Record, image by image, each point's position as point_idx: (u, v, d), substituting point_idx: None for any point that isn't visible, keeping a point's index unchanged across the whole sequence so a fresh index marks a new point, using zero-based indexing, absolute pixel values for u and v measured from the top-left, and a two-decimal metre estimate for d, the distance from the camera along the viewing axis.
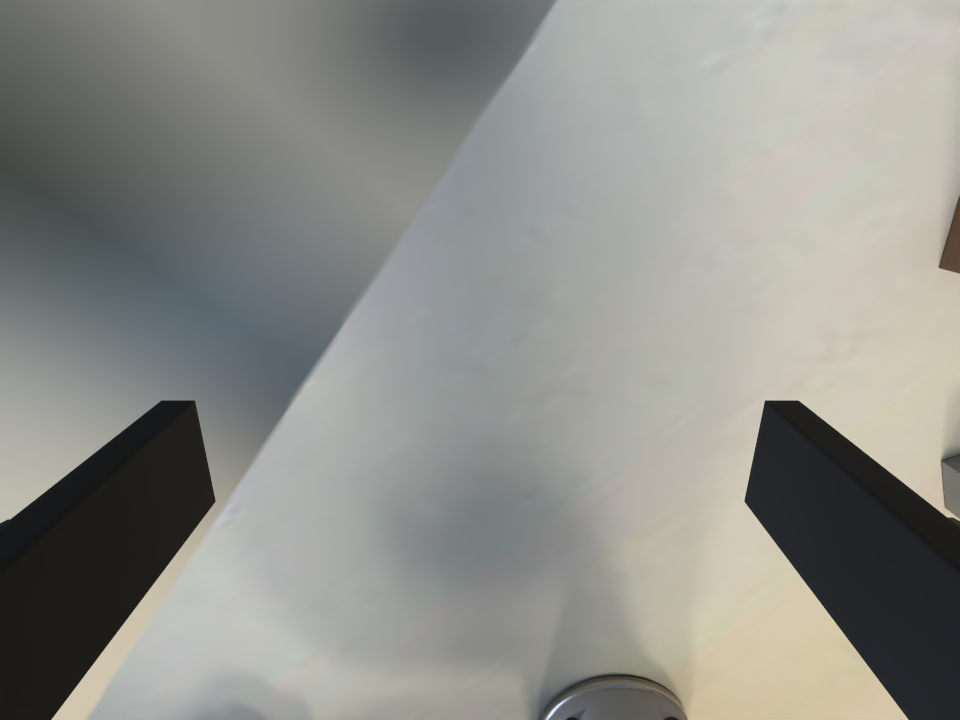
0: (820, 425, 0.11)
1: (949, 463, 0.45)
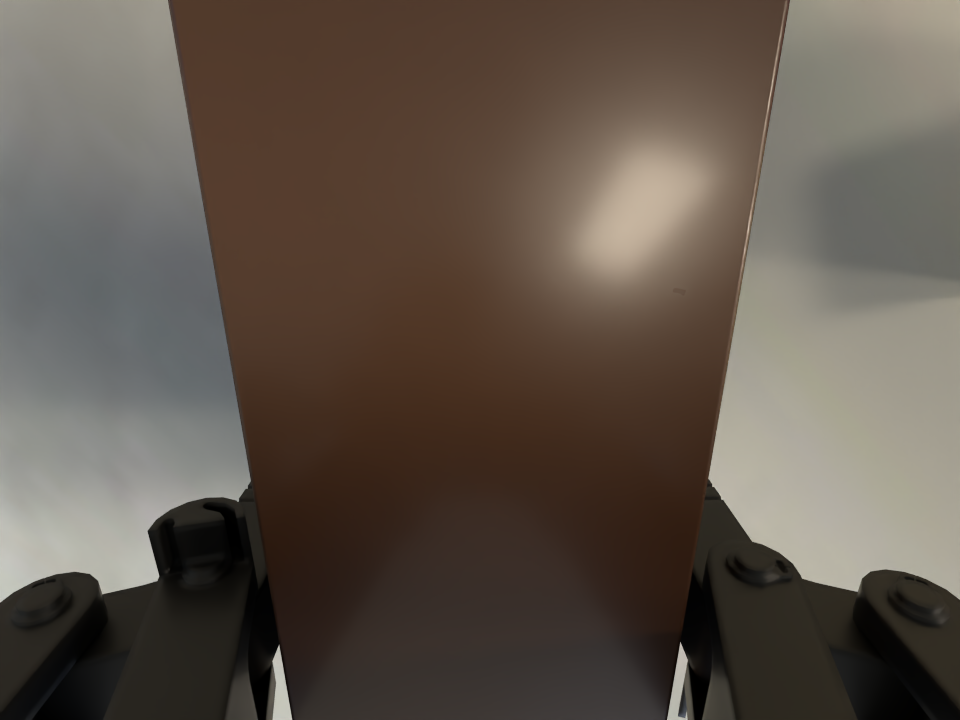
0: None
1: None
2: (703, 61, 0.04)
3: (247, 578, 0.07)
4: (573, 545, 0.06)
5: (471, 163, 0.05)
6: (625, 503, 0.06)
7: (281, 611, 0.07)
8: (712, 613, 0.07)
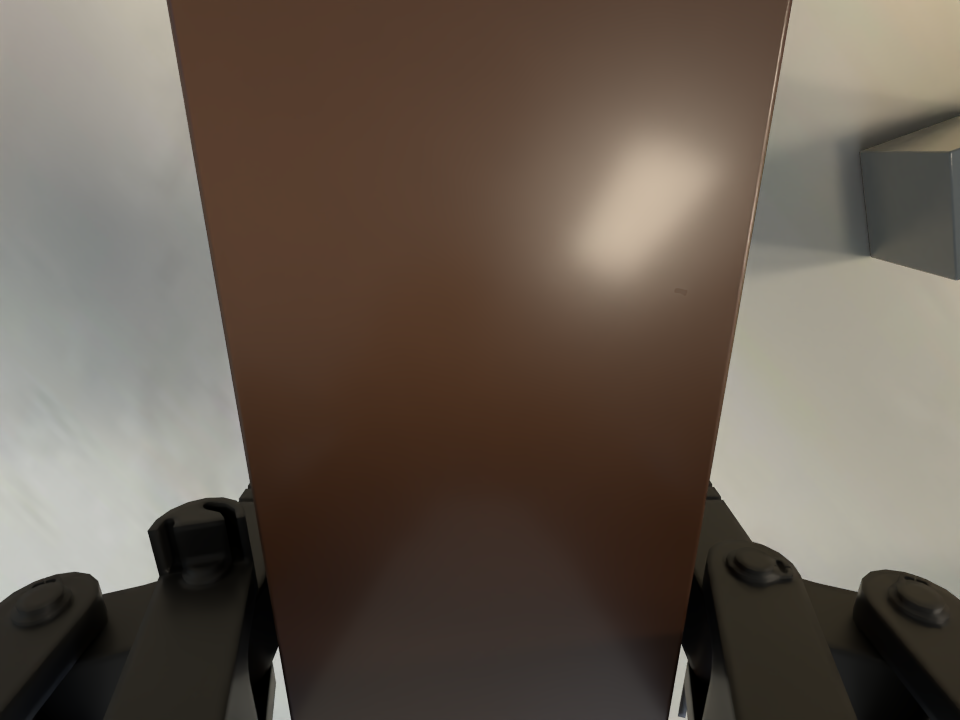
0: None
1: (878, 255, 0.25)
2: (705, 60, 0.04)
3: (247, 578, 0.07)
4: (574, 547, 0.06)
5: (471, 162, 0.05)
6: (627, 504, 0.06)
7: (280, 613, 0.07)
8: (712, 613, 0.07)
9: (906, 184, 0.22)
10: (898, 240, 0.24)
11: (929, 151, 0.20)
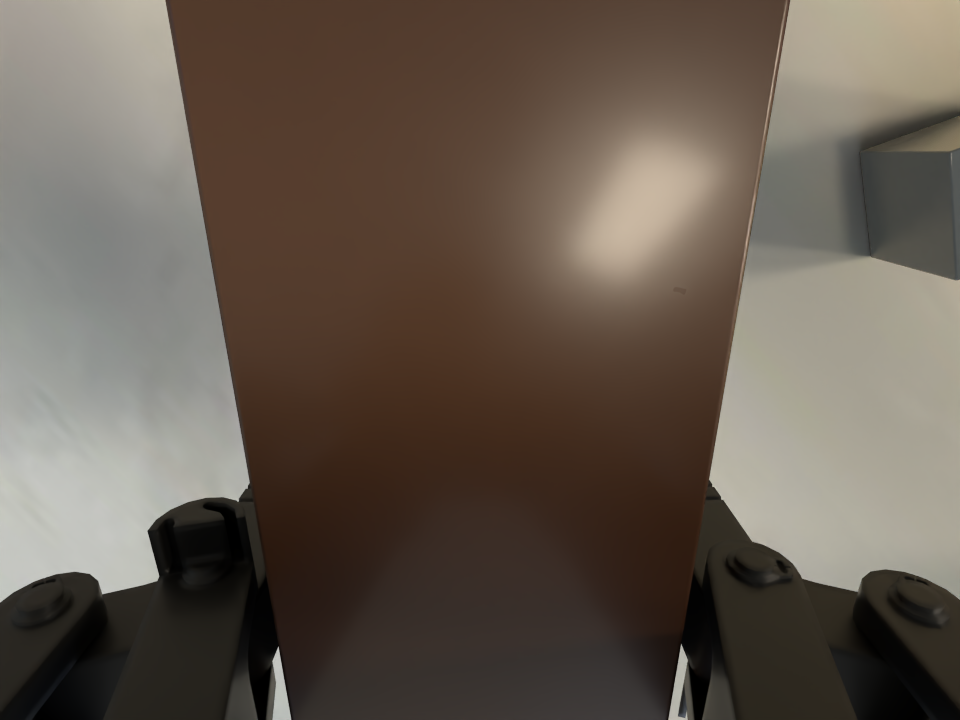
0: None
1: (879, 255, 0.25)
2: (703, 59, 0.04)
3: (247, 578, 0.07)
4: (573, 546, 0.06)
5: (470, 162, 0.05)
6: (626, 504, 0.06)
7: (280, 612, 0.07)
8: (712, 613, 0.07)
9: (906, 184, 0.22)
10: (899, 240, 0.24)
11: (929, 151, 0.20)
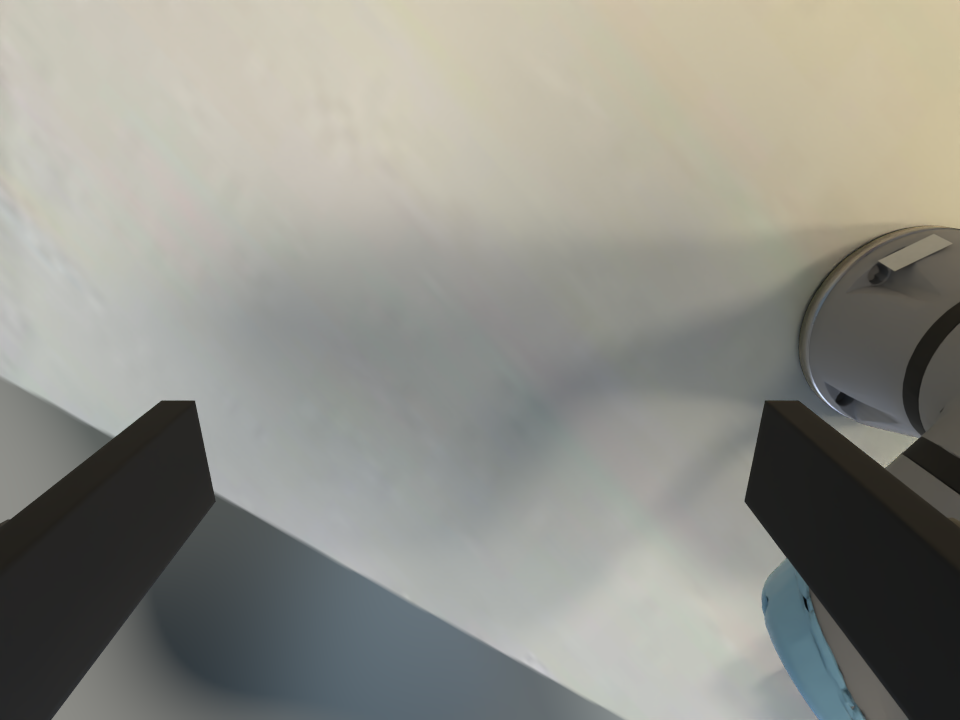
0: (821, 425, 0.11)
1: None
2: None
3: None
4: None
5: None
6: None
7: None
8: None
9: None
10: None
11: None
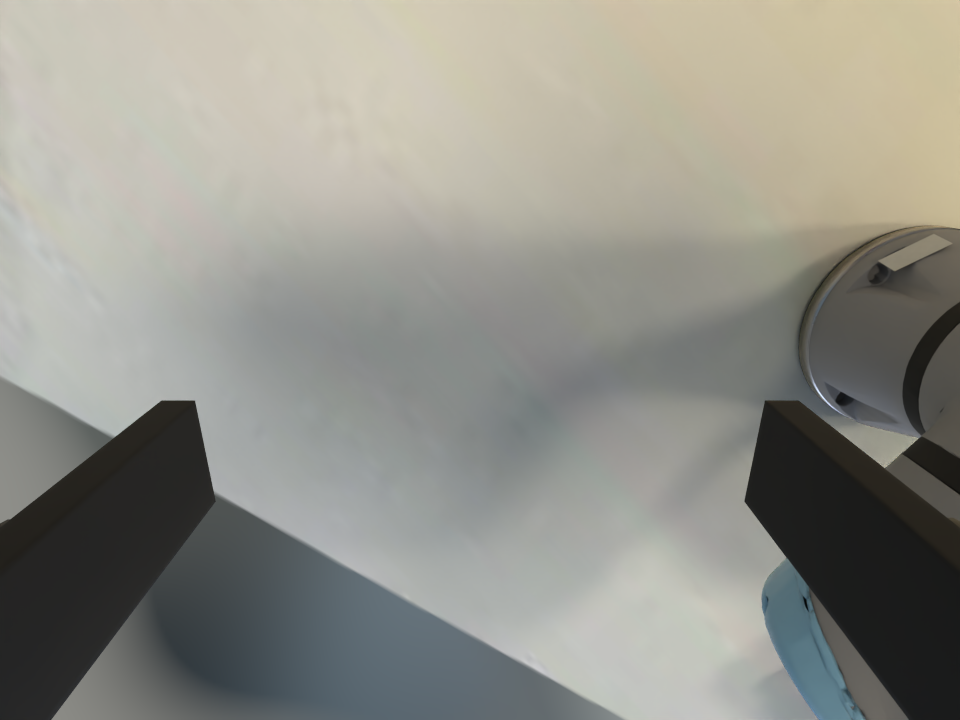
0: (821, 425, 0.11)
1: None
2: None
3: None
4: None
5: None
6: None
7: None
8: None
9: None
10: None
11: None
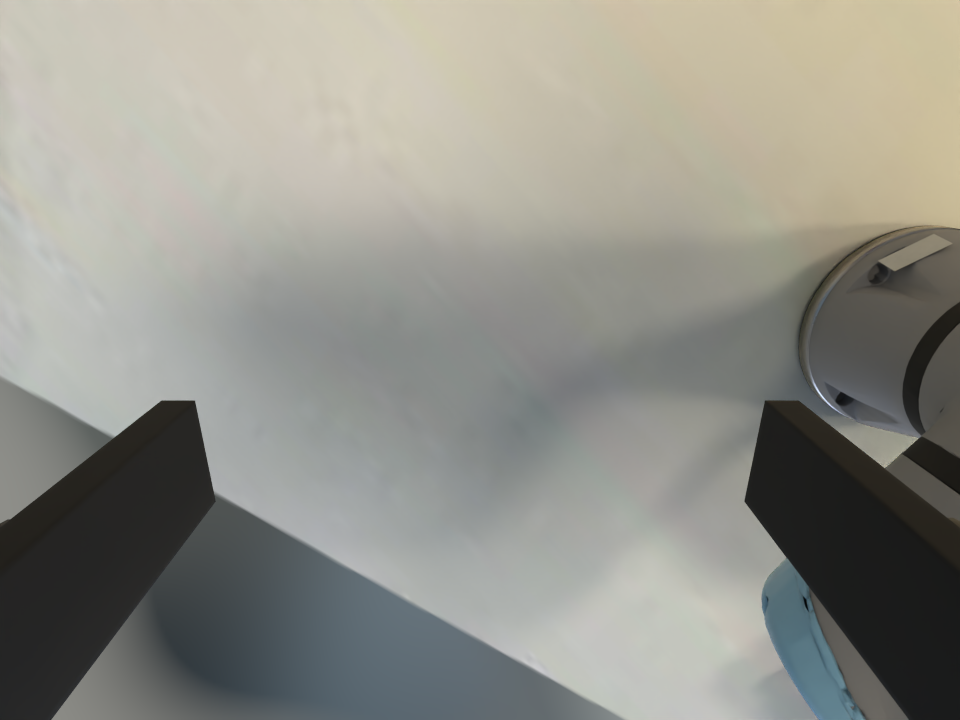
0: (821, 425, 0.11)
1: None
2: None
3: None
4: None
5: None
6: None
7: None
8: None
9: None
10: None
11: None
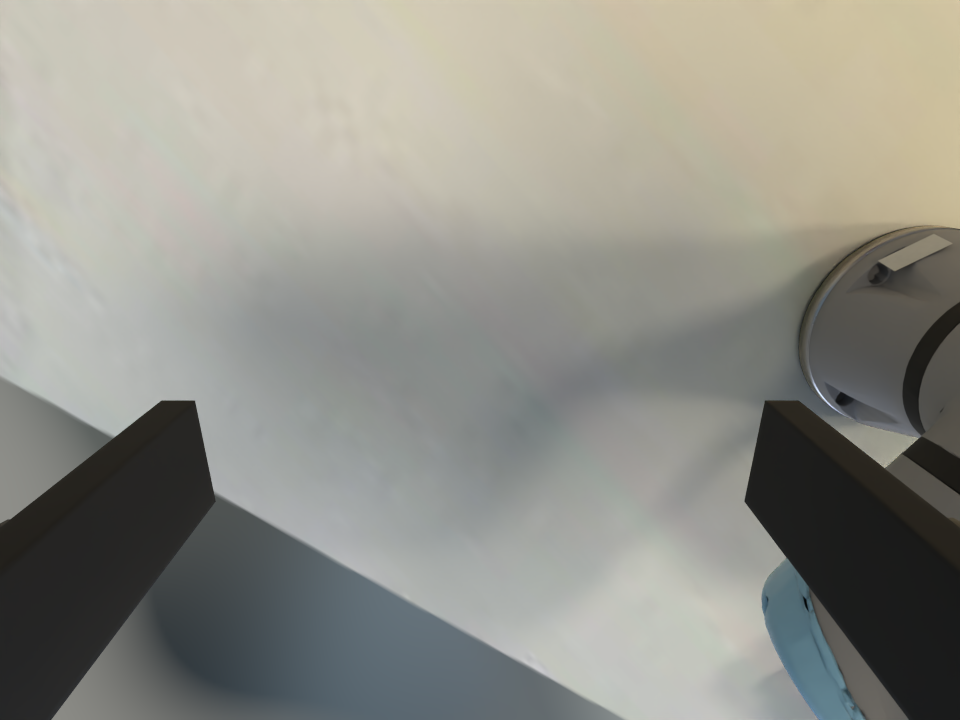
0: (821, 425, 0.11)
1: None
2: None
3: None
4: None
5: None
6: None
7: None
8: None
9: None
10: None
11: None
